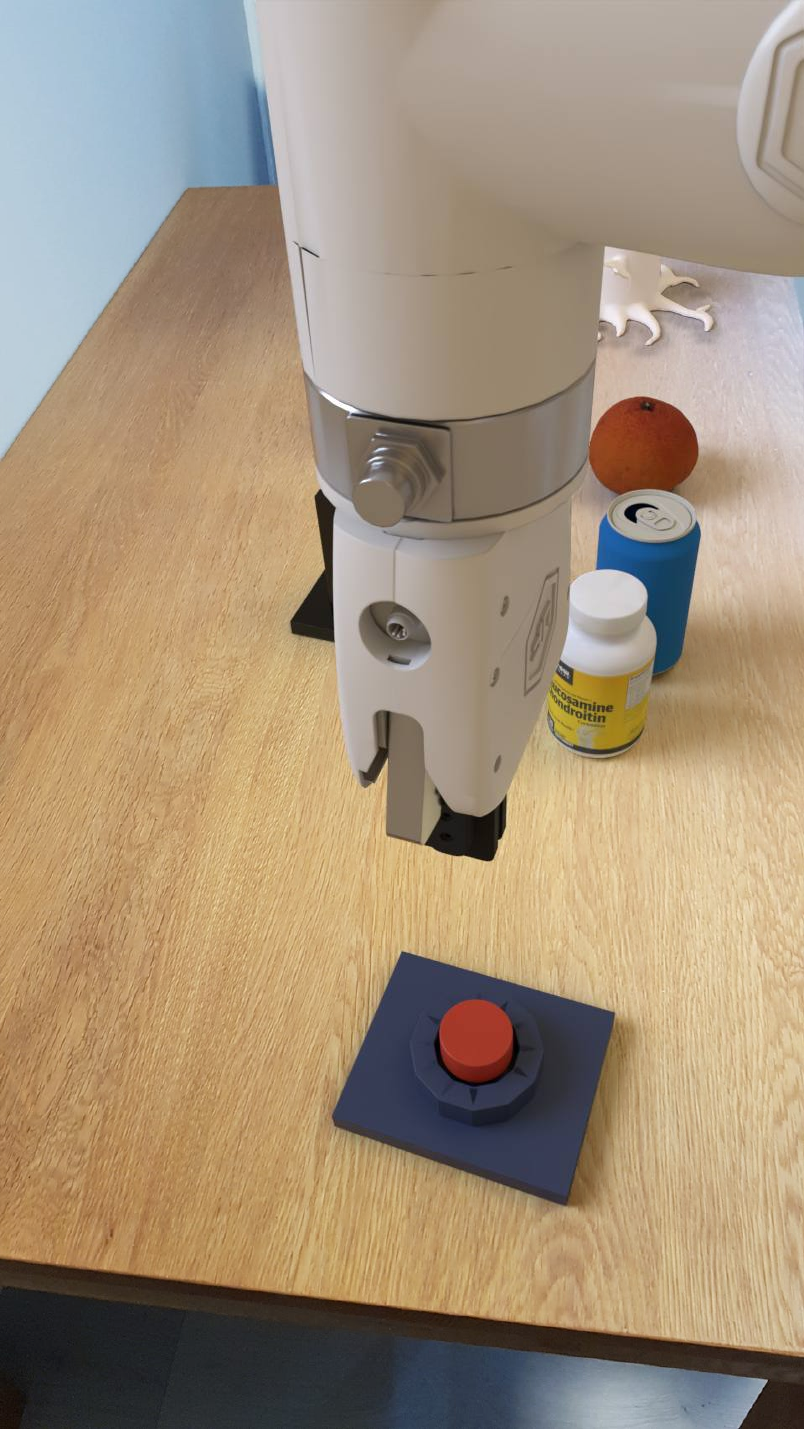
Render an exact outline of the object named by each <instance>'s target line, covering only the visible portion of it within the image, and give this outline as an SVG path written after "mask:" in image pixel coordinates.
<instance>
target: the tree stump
mask: <svg viewBox="0 0 804 1429" xmlns="http://www.w3.org/2000/svg"><path fill="white" fill-rule="evenodd" d="M662 259H663V257H662V256H657V255H652V254H647V253H641V252H636V251H630V250H624V249H619V248H613V247H607V246H605V253H604V265H603V278H602V291H601V303H600V316H599V322H601V321H603V322H607V323H610V324H612V326H613V327H615V330H616V337H617V338H620V337H621V336H622V335H624V333H625V331H626V327H627V322H628V320H631V321H634V322H639V323H641V324H643V325H645V326H646V327H647V328H649V329H650V331H651V332H652V336H651V337H650V339H648V340H647V341H646V342H645V346H651V345H652V344H653V343H654V342H656V341H657V340H658V339H660V337H661V327H660V326H661V325H660V323H659V322H658V321H657V319H656V318H655V316H654V315H653V314H652V311H662V312H663V311H664V312H673V313H674V314H678V315H681V316H684V317H689V318H693V319H695V320H696V319H697V320H700V321H702V322H703V323H704V324H703V326H704V330H703V331H704V332H709V331H711V329H712V327H713V325H714V324H715V323H714V322H715V321H714V319H713V317H712V316H711V315H710V314H709V313H708V312H707V311H708V310H710V308H711V304H706V305H703V306H700V307H697V308H696V309H695V310H694V309H690V308H687V307H685V306H682V305H681V304H680V303H677V302H675V301H673V300H671V299H669V298H667V297H666V296H664V295H663V294H662V293H663V292H664V291H665V290H666V289H668V288H669V287H674V286H677V285H679V284H682V283H688V284H692V285H693V286H694V287H696V288H700V285H699V283H698V281H697V280H696V279H694V278H692V277H689V276H677V275H675V274H674V273H673V271H672V269H671V268H670V267H668V266H667V265H665V264H662ZM601 339H602V334H601V332H599V331H598V341H600V340H601Z"/></svg>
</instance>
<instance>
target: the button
mask: <svg viewBox="0 0 804 1429" xmlns="http://www.w3.org/2000/svg"><path fill="white" fill-rule="evenodd" d="M439 1036H440V1048H441V1055H442V1059H443V1061H444V1064H445V1065H446V1067H447V1068H448V1069H449V1071H450V1072H451V1073H453V1074H454V1075H455V1076H457V1077H458V1078H460V1079H462V1080H465V1081H469V1082H475V1083H480V1082H486V1081H490V1080H492V1079H494V1078H496V1077H498V1076H499V1075H500V1074H502V1073H503V1072H504V1071H505V1069H506V1068H507V1067H508V1065H509V1063H510V1061H511V1058H512V1053H513V1029H512V1025H511V1022H510V1020H509V1018H508V1016H507V1015H506V1013H505V1012H504V1011H503V1010H502V1009H501V1008H499V1007H498V1006H497V1005H495V1004H493V1003H491V1002H488V1001H484V1000H467V1001H463V1002H461V1003H459V1004H457V1005H455V1006H454V1007H452V1008H451V1009H450V1010H449V1011H448V1012H447V1013H446V1014H445V1016H444V1018H443V1020H442V1022H441V1025H440V1030H439Z"/></svg>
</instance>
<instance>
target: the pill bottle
mask: <svg viewBox="0 0 804 1429" xmlns="http://www.w3.org/2000/svg"><path fill="white" fill-rule="evenodd" d="M647 598H648V595H647V590H646V588H645V586H644V585H643V583H642V582H641V581H640V580H638V579H637V578H636V577H634V576H632V575H630V574H628V573H625V572H622V571H618V570H609V569H606V570H596V569H595V570H592V571H588V572H585V573H582V574H581V575H580V576H578V577H577V578H575V579H574V580H573V581H572V583H570V609H569V626H568V632H567V637H566V641H565V645H564V649H563V652H562V655H561V658H560V661H559V664H558V667H557V669H556V672H555V675H554V677H553V680H552V683H551V685H550V688H549V690H548V693H547V710H546V719H547V725H548V729H549V732H550V733H551V734H550V735H551V736H552V738H554V740H555V741H556V742H557V743H558V744H559V745H560V746H561V747H562V748H564V749H566V750H567V751H569V752H571V753H573V754H574V755H575V754H576V755H579V756H582V757H585V758H593V759H603V758H604V759H605V758H611V757H614V756H619V755H621V754H623V753H625V752H627V751H628V750H630V749H632V747H634V746H635V745H636V744H637V743H638V742H639V740H640V738H641V737H642V735H643V733H644V729H645V725H646V718H647V712H648V711H647V710H648V703H649V697H650V690H651V685H652V678H653V675H652V672H653V665H654V658H655V651H656V644H657V638H656V632H655V628H654V626H653V624H652V622H651V621H650V619H649V618H648V617H647V616H646V615H645V614H646V610H647Z"/></svg>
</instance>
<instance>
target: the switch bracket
mask: <svg viewBox="0 0 804 1429" xmlns="http://www.w3.org/2000/svg"><path fill="white" fill-rule="evenodd" d="M313 498H314V504H315V511H316V518H317V524H318V531H319V539H320V545H321V551H322V558H323V565H324V569H323V571H322V572H321V574H320V575H319V576H318V578H317V580H316V582H315V583H314V585H313V586H312V588H311V589H310V590H309V592H308V594H307V595H306V597H305V598H304V599H303V601H302V603H301V604H300V606H299V607H298V608H297V610H296V612H294V615H293V616H292V618H291V619H290V621H289V624H290V630H291V634H294V635H298V636H303V637H309V638H314V639H317V640H323V641H328V642H332V643H335V635H334V608H333V525H334V514H335V510H336V507H335V506H334V505H333V504H332V503H331V502H330V501H329V500H328V498H327V497H326V496H325V495H324V494H323V492H322V490H321V488H319V489H318V490H317V492H316V493H315V495H314V497H313Z"/></svg>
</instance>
